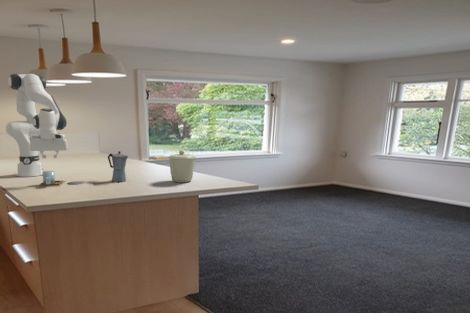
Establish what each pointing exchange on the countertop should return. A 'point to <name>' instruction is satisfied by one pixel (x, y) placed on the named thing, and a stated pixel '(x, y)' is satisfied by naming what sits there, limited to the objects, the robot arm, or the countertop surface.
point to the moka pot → (118, 166)
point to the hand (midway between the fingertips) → (49, 158)
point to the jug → (49, 177)
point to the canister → (181, 167)
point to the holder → (57, 183)
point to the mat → (75, 183)
